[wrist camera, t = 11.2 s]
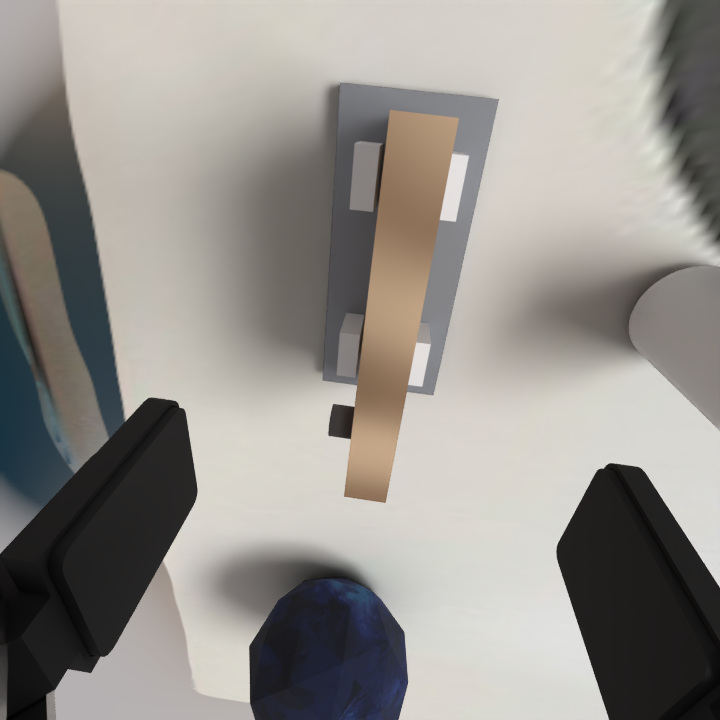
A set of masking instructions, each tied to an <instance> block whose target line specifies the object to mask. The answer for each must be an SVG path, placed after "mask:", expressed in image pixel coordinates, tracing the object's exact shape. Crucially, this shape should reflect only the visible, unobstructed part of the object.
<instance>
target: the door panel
mask: <svg viewBox="0 0 720 720" xmlns="http://www.w3.org/2000/svg"><path fill="white" fill-rule="evenodd" d="M458 121H459V118H455V117H447V116H438V115H429V114H421V113H412V112H404V111H395V110H390V114H389V122H388V131H387V139H386V148H385V156H384V165H383V173H382V181H381V190H380V198H379V207H378V215H377V224H376V232H375V241H374V249H373V257H372V266H371V274H370V283H369V291H368V300H367V308H366V316H365V325H364V333H363V342H362V350H361V359H360V367H359V376H358V384H357V392H356V401H355V407H351V406H344V405H337V404H333V407H332V411H331V416H330V423H329V433H328V434H329V436H333V437H340V438H347V439H351V443H350V451H349V460H348V468H347V477H346V485H345V494H344V497H351V498H357V499H364V500H370V501H377V502H384V503H386V498H387V492H388V487H389V482H390V477H391V471H392V466H393V461H394V456H395V450H396V445H397V440H398V435H399V430H400V424H401V419H402V414H403V409H404V403H405V398H406V393H407V388H408V383H409V377H410V372H411V367H412V362H413V356H414V351H415V346H416V341H417V336H418V330H419V325H420V320H421V315H422V309H423V304H424V299H425V294H426V289H427V283H428V278H429V273H430V268H431V262H432V257H433V252H434V247H435V242H436V236H437V231H438V226H439V221H440V215H441V210H442V205H443V200H444V195H445V189H446V184H447V179H448V174H449V168H450V163H451V158H452V153H453V148H454V142H455V137H456V132H457V127H458Z"/></svg>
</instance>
